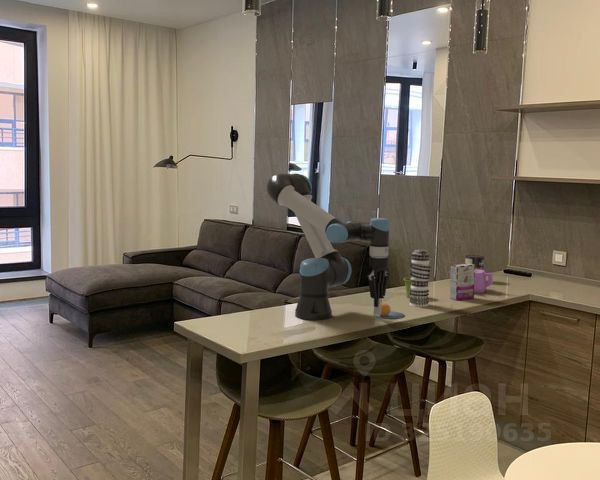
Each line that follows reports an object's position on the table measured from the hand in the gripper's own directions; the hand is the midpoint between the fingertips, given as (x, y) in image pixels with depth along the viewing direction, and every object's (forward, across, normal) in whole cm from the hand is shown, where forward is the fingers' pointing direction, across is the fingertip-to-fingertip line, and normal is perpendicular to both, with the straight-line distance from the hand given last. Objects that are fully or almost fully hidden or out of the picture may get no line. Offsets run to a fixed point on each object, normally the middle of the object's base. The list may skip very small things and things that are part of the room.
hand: (377, 314), depth 248 cm
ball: (-1, +6, 0) cm, 6 cm away
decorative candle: (+2, +36, +1) cm, 36 cm away
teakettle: (+2, +85, -1) cm, 85 cm away
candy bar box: (+2, +63, -7) cm, 63 cm away
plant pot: (+2, +50, +12) cm, 51 cm away
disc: (+2, +9, 0) cm, 9 cm away
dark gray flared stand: (+2, +114, +10) cm, 114 cm away
